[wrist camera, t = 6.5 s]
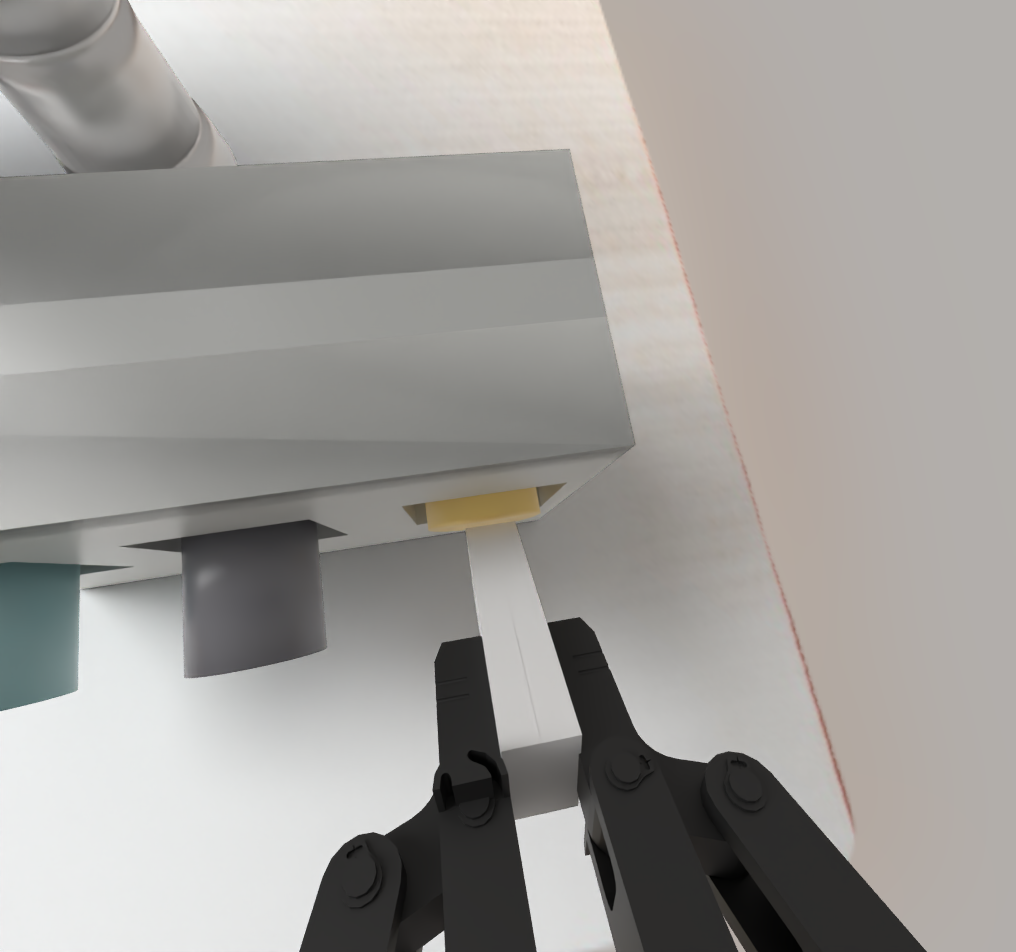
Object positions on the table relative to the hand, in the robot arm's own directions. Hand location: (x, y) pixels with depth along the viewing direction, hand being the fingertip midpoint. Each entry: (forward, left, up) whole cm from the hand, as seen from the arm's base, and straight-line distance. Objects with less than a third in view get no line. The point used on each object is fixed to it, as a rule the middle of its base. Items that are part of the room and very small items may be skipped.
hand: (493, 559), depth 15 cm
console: (-6, +6, -7) cm, 11 cm away
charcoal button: (-7, +3, -2) cm, 7 cm away
